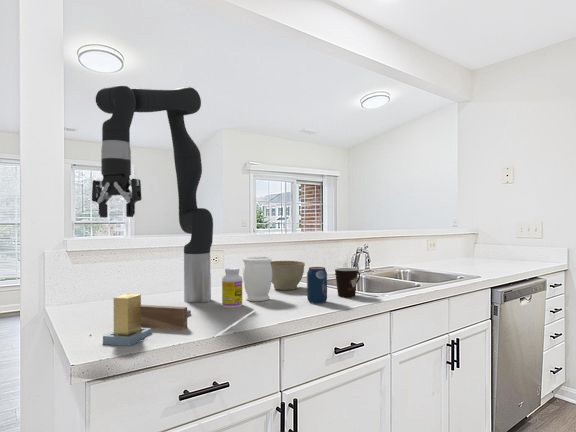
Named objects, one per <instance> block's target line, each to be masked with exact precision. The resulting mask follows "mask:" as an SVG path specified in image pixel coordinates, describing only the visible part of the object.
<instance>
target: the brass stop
mask: <svg viewBox="0 0 576 432" xmlns="http://www.w3.org/2000/svg"><path fill="white" fill-rule="evenodd" d="M141 305H142V295H141V294H139V293H138V294H134V293H126V294H121V295H118V296H115V297H113V332H114V335H115V336H127V337H130V336H132V335H134V334H136V333H138V332H141V328H142V327H141Z"/></svg>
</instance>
